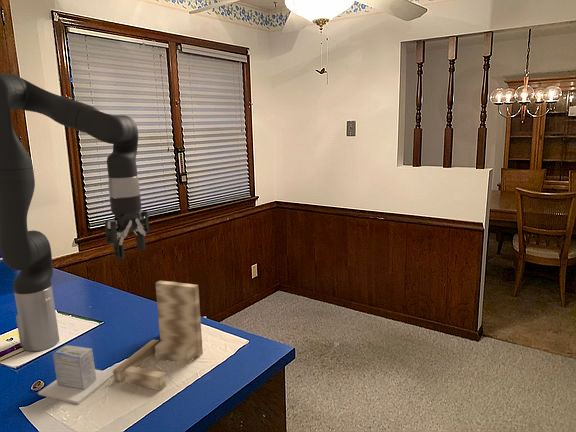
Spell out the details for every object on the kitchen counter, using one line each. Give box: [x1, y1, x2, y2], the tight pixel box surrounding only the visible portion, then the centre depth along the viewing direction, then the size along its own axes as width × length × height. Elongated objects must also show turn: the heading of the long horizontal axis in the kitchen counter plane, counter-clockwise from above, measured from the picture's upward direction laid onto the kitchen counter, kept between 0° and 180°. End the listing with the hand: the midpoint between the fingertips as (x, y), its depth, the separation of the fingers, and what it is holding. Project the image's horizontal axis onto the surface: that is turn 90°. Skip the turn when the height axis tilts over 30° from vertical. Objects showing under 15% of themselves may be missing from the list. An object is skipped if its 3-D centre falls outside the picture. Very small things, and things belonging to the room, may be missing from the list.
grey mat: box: [37, 368, 114, 405], centre depth 106 cm, size 12×12×1 cm
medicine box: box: [52, 344, 96, 389], centre depth 105 cm, size 8×4×9 cm, turn 75°
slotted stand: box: [112, 280, 204, 392], centre depth 111 cm, size 14×18×20 cm
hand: (131, 253), depth 116 cm, fingers open, 8 cm apart
